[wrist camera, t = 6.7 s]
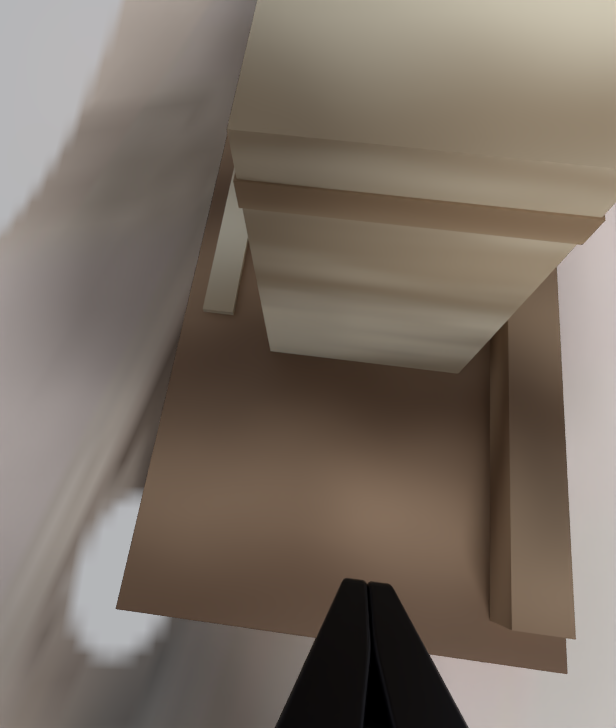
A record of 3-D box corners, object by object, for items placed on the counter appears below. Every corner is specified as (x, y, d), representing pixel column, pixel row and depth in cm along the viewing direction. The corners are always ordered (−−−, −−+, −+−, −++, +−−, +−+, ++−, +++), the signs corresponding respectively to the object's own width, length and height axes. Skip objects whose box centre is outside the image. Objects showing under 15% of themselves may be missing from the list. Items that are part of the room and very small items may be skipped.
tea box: (459, 375, 15) (648, 174, 7) (269, 352, 16) (222, 131, 7) (466, 71, 20) (587, -281, 11) (317, 57, 20) (325, -297, 11)
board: (533, 656, 14) (648, 717, 10) (139, 600, 15) (58, 630, 10) (517, 37, 23) (574, -97, 18) (269, 14, 24) (259, -122, 19)
